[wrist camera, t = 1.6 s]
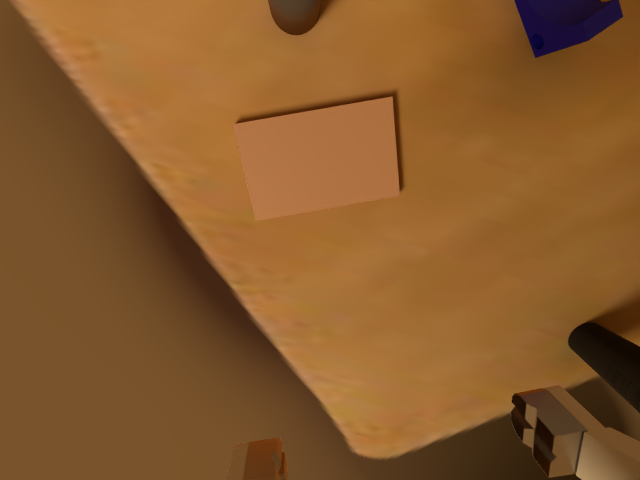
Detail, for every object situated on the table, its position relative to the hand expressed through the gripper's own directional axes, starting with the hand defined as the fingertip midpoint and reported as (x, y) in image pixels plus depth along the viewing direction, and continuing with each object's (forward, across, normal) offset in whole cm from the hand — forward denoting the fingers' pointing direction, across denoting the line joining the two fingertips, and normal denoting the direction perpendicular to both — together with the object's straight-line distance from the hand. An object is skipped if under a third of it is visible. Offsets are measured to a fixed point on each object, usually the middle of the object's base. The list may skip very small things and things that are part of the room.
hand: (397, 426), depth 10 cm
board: (+26, 0, -7) cm, 27 cm away
